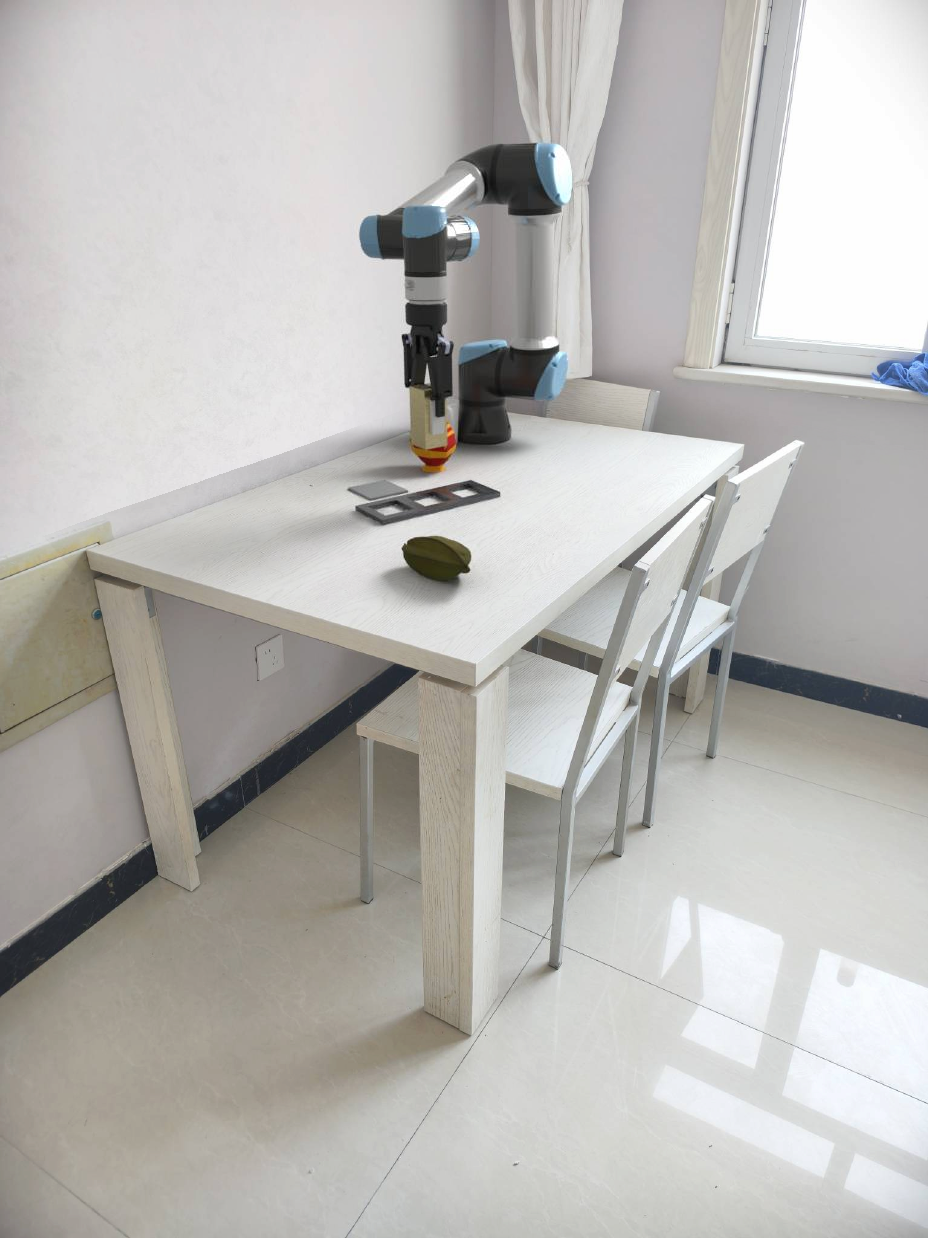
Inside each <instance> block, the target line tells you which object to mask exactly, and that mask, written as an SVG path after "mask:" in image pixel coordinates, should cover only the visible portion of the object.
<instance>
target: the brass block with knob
mask: <svg viewBox="0 0 928 1238" xmlns="http://www.w3.org/2000/svg"><path fill="white" fill-rule="evenodd" d="M408 391H409V416H410V417H409V420H410V424H409V425H410V430H411V433H410V438H411V444H412V445H415V446H417V447H420V448H423V449H425V450H427V449H432V448H437V447H442V446H447V398H446V399H445V416H444V433H441V434H436V435H431V434H430V399H429V398H431V397H432V390H431V384H430V382H429V383H428V382H427V383H425V384H421V385H414V386H409V388H408Z"/></svg>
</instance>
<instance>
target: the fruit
mask: <svg viewBox="0 0 928 1238" xmlns="http://www.w3.org/2000/svg"><path fill="white" fill-rule="evenodd" d="M401 550H402V558H403V560H404V561H405V562H406V564H407V566H409V568H410V569H411V570H412V571H413V572H414V573H416V574H418V575H419V576H422V577H424V578H426V579H429V580H434V581H446V580H447V581H448V580H451V579H454V578H456V577H458V576H459V575H460V574H461V575H462V574H463V575H464V574H468V573H470V572H471V568H470V566H469V565H470V564H471V561H472V552H471V550H470V549H469V548H468V547H467V546H465V545H464V544H462V543H461V542H459V541H456V540H454V539H450V538H447V537H445V536H440V535H429V536H416V537H415V536H414V537H412V538H410V539H408V540H407V542H403V545H402V546H401Z"/></svg>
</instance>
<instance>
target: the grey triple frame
mask: <svg viewBox="0 0 928 1238" xmlns="http://www.w3.org/2000/svg"><path fill="white" fill-rule="evenodd" d="M466 489H470V490H473V491H475V492H477V494H471V495H466V496H460V495H458V494H456V493H454V492H457V491H462V490H466ZM431 497H435V498H437V499H438V500H441V501H442V502H438V503H434V504H429V505H423V504H421V503H420V502H417V501H419V500H423V499H427V498H431ZM496 498H501V491H499V490H497V489H494V488H492V487H489V486H487V485H485V484H483V483H479V482H477V481H474V480H472V479H469V480H465V481H460V482H456V483H451V484H447V485H441V486H437V487H433V488H429V489H424V490H419V491H415V492H410V493H406V494H403V495H402V494H400V495H396V496H391V497H387V498H382V499H378V500H373V501H371V502H366V503H362V504H358V505H355V507H354V508H355V512H357V513H360V515H361V514H362V515H363V516H365V517H366V518H369V519H370V520H372V521H374V522H376V523H378V524H380V525H381V526H384V525H388V524H393V523H398V522H402V521H405V520H409V519H414V518H418V517H421V516H422V517H423V516H427V515H430V514H434V513H439V512H443V511H446V510H451V509H455V508H460V507H463V506H467V505H471V504H475V503H479V502H484V501H488V500H492V499H496ZM393 506H398V507H400V508H403V509H404V510H403V511H399V512H395V513H391V514H386V515H385V514H384V513H381V512H379V511H378V510H380V509H384V508H389V507H393Z"/></svg>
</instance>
